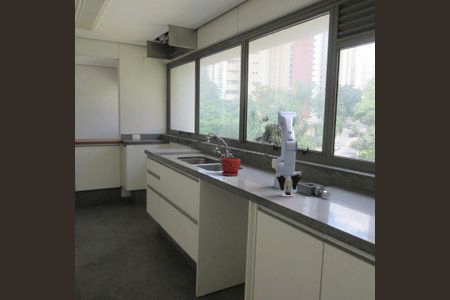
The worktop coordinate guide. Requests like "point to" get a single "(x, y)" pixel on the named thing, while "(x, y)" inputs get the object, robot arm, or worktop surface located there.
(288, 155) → the robot arm
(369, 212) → the worktop surface
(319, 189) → the chuck
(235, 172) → the plant pot
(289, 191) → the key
